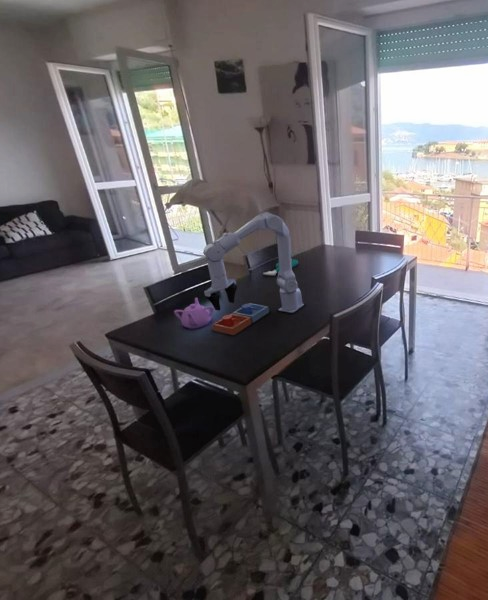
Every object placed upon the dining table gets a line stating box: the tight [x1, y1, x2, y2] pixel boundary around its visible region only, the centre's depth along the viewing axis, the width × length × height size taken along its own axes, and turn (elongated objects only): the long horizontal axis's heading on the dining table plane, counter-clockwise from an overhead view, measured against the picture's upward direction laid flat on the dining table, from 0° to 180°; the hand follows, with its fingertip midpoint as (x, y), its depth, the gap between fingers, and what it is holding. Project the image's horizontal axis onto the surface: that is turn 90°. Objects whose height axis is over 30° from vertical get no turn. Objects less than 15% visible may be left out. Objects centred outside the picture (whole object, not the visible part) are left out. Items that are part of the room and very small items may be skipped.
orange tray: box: [211, 313, 253, 336], centre depth 147 cm, size 11×11×3 cm
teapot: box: [173, 297, 215, 330], centre depth 150 cm, size 12×14×9 cm
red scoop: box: [221, 314, 240, 327], centre depth 147 cm, size 8×4×4 cm, turn 68°
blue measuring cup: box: [241, 303, 258, 315], centre depth 157 cm, size 8×4×4 cm, turn 68°
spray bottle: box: [262, 258, 299, 276], centre depth 213 cm, size 3×11×24 cm
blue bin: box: [232, 302, 270, 324], centre depth 157 cm, size 11×11×3 cm
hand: (224, 306), depth 145 cm, fingers open, 7 cm apart
